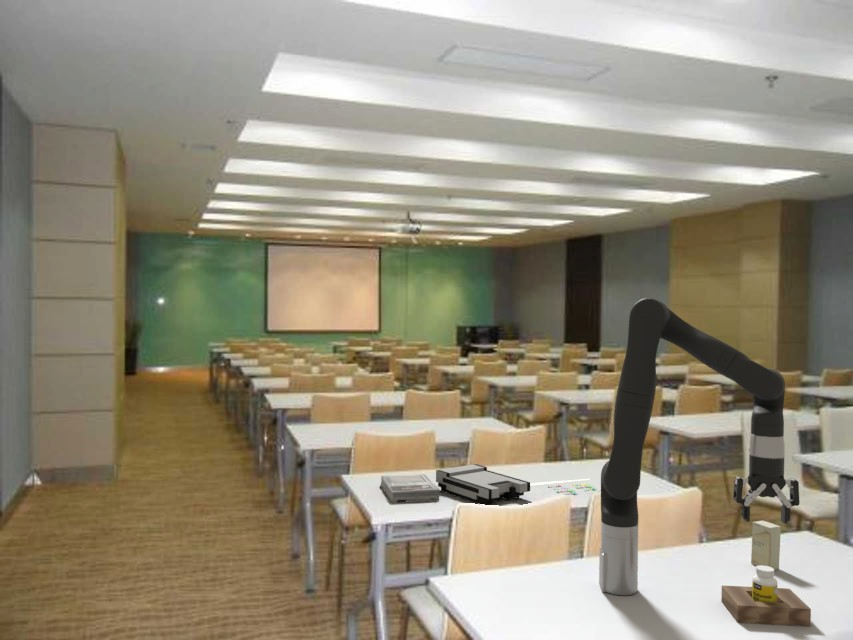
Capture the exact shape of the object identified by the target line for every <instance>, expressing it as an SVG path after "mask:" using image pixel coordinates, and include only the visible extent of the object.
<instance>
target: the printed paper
mask: <svg viewBox="0 0 853 640" xmlns="http://www.w3.org/2000/svg"><path fill="white" fill-rule="evenodd" d="M588 480H590V478H584V479H582V481H588ZM576 481H578V482H579V481H580V479H573V480H572V479H571V480H555V481H543V482H542V481H541V482H530V487H531V486H537V485H538V486H540V485H548V486H547V488H553V490H554V491H555V493H564V492H568V493H566V494H567V495H570V494H573V495H577V494H578V492H576V491H575V490H573V489H570V488H569V487H563V486H565V485H561V484H558V483H567V482H568V483H569V482H576ZM549 484H555V485H551V486H550V485H549ZM571 485H572V486H573V487H574V488H576V489H583V488H586V489H583V491H588V490H590V489H591V490H593V491H594V492H593V494H596V493H595V492H596V490H597V492H601V490H599V491H598V488H596V487H595V486H593V485H591V484H588V483H579V486H578V484H573V483H572V484H571ZM554 487H555V488H554ZM557 487H558V488H557ZM560 487H561V488H560ZM559 488H560V491H559ZM588 494H591V492H588Z"/></svg>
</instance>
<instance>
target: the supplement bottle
mask: <svg viewBox="0 0 853 640" xmlns="http://www.w3.org/2000/svg"><path fill="white" fill-rule="evenodd" d="M751 584H752V586H751V587H752V599H753V600H754V601H755V602H774V603H777V588H778V580H777V579H776V578H775V570H774V569H773V568H772V567H769V566H763V565H759V566H756V565H755V574H754V575H753V576H752V583H751Z"/></svg>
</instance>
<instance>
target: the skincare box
mask: <svg viewBox="0 0 853 640" xmlns="http://www.w3.org/2000/svg"><path fill="white" fill-rule="evenodd" d="M781 529H782V526H781V525H779V524H775V523H773V522H772V523H771V522H769V521H766V520H757V521H753V522H752V535H751V555H750V556H751V560H750V561H751V562H750V563H751V565H754V566H755V567H756V566H759V565H763V566H769V567H772V568H773V569H774V571H775V570H779V569H780V555H781V553H780V552H781V551H780V550H781V549H780V548H781Z"/></svg>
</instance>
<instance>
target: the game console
mask: <svg viewBox="0 0 853 640" xmlns="http://www.w3.org/2000/svg"><path fill="white" fill-rule="evenodd" d="M435 482H436V483H437V487H438V488H440V492H442V491H444V492H443V493H445V492H447V493H446V494H448V493H449V495H451V494H452V496H454V495H455V496H454V497H457V498H460V499H463V500H466V501H469V502H471V503H475V504H477V503H480V504H484V505H487V504H493V503H494V501H499V498H501V499H504V500H506V501H507V500H513V499H519V498H520V497H522V496H525V493H527V492H531V486H530V483H531V482H530V481H527V480H523V479H519V478H516V477H513V476H509V475H505V474H501V473H499V472H495V471H491V470H488V467H487V466H483V465H480V464H469V465H462V466H455V467H449V468H442V469H441V468H440V469H436V470H435ZM480 504H479V505H480Z"/></svg>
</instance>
